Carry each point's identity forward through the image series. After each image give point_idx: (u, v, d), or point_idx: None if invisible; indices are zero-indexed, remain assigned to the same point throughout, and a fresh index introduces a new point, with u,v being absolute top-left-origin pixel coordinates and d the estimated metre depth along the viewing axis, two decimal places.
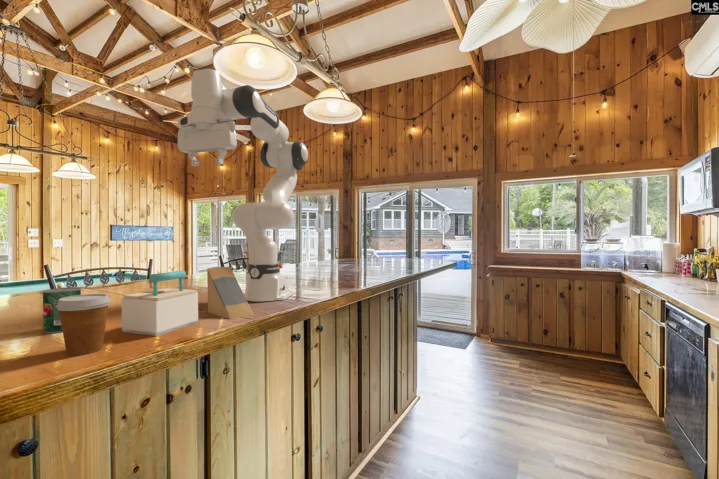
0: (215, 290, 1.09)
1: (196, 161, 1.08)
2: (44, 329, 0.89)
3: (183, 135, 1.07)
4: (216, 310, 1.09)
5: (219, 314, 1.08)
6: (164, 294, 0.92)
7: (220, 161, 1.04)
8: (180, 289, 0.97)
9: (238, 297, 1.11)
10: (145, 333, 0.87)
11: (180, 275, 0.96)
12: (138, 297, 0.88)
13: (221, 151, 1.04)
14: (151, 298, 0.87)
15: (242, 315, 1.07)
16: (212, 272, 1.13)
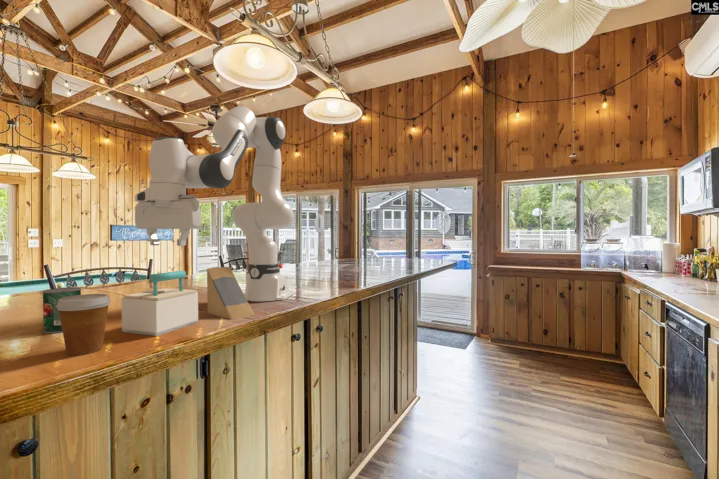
0: (215, 290, 1.09)
1: (156, 240, 0.94)
2: (44, 329, 0.89)
3: (141, 211, 0.94)
4: (216, 310, 1.08)
5: (219, 314, 1.07)
6: (164, 294, 0.92)
7: (182, 243, 0.91)
8: (180, 289, 0.97)
9: (238, 297, 1.11)
10: (145, 333, 0.87)
11: (180, 275, 0.96)
12: (138, 297, 0.88)
13: (183, 232, 0.90)
14: (151, 298, 0.87)
15: (243, 315, 1.06)
16: (212, 272, 1.12)
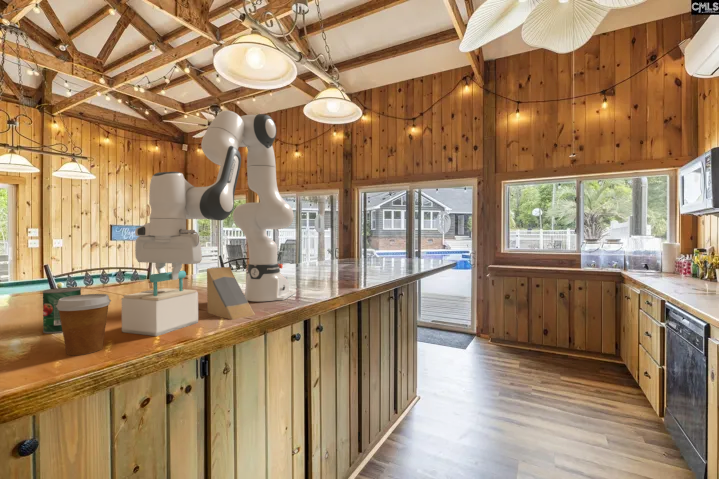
0: (215, 291, 1.08)
1: None
2: (44, 329, 0.89)
3: (141, 245, 0.94)
4: (217, 311, 1.08)
5: (220, 315, 1.07)
6: (164, 294, 0.92)
7: (174, 277, 0.92)
8: (180, 289, 0.97)
9: (239, 297, 1.10)
10: (145, 333, 0.87)
11: (180, 275, 0.96)
12: (138, 297, 0.88)
13: (175, 267, 0.92)
14: (151, 298, 0.87)
15: (244, 316, 1.06)
16: (212, 272, 1.11)
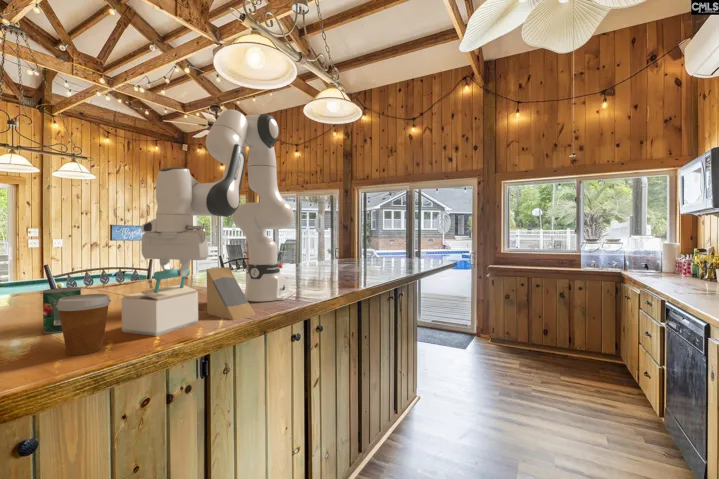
0: (216, 291, 1.08)
1: None
2: (44, 329, 0.89)
3: (147, 241, 0.93)
4: (217, 311, 1.07)
5: (220, 315, 1.06)
6: (164, 291, 0.91)
7: (182, 274, 0.91)
8: (181, 286, 0.97)
9: (239, 297, 1.10)
10: (145, 333, 0.87)
11: None
12: (138, 297, 0.88)
13: (183, 263, 0.91)
14: (151, 296, 0.87)
15: (244, 316, 1.06)
16: (211, 272, 1.11)
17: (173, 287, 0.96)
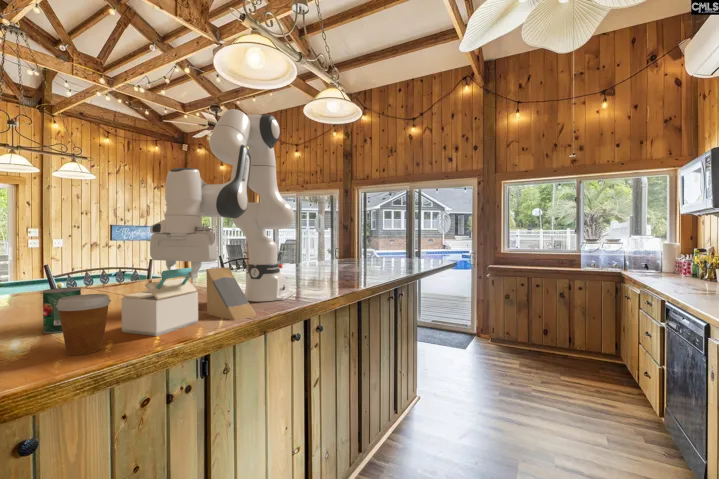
0: (216, 291, 1.07)
1: None
2: (44, 329, 0.89)
3: (156, 242, 0.92)
4: (217, 312, 1.07)
5: (221, 316, 1.06)
6: (166, 288, 0.91)
7: (193, 276, 0.90)
8: (183, 282, 0.97)
9: (239, 298, 1.10)
10: (145, 333, 0.87)
11: None
12: (138, 297, 0.88)
13: (194, 265, 0.89)
14: (153, 293, 0.87)
15: (245, 316, 1.05)
16: (211, 273, 1.10)
17: (176, 281, 0.96)
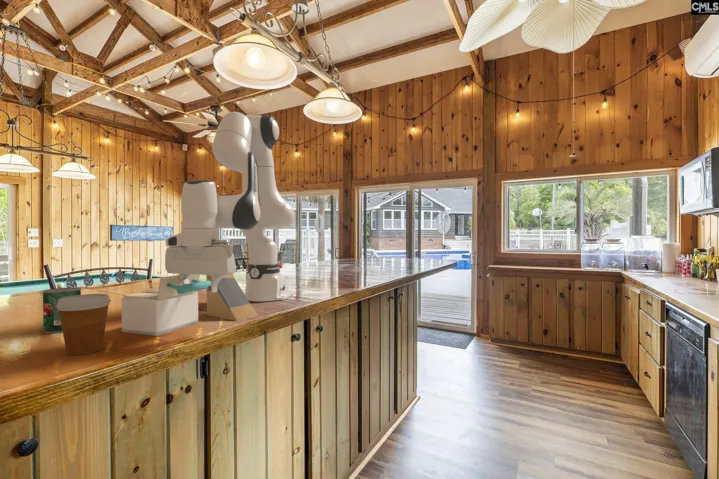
0: (217, 292, 1.06)
1: None
2: (44, 329, 0.89)
3: (172, 255, 0.91)
4: (218, 312, 1.06)
5: (222, 316, 1.05)
6: None
7: (213, 289, 0.88)
8: (193, 281, 0.96)
9: (240, 298, 1.09)
10: (145, 333, 0.87)
11: None
12: (138, 297, 0.88)
13: (214, 279, 0.88)
14: (159, 290, 0.86)
15: (247, 316, 1.05)
16: None
17: (188, 278, 0.94)
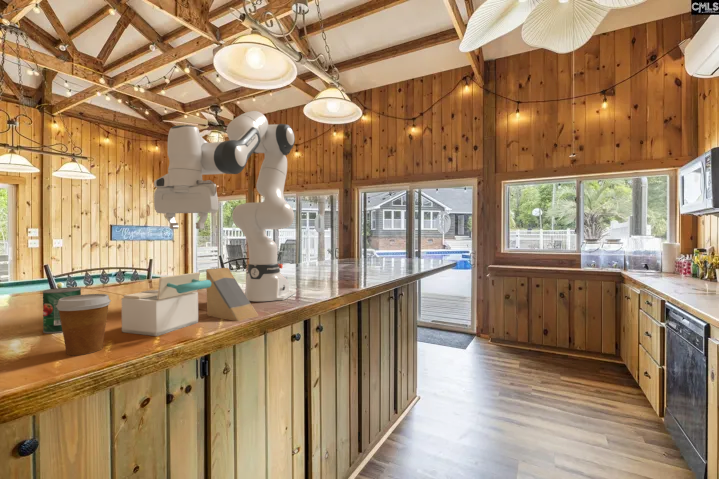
0: (217, 292, 1.06)
1: (175, 224, 1.00)
2: (44, 329, 0.89)
3: (160, 196, 0.99)
4: (219, 313, 1.05)
5: (223, 317, 1.04)
6: None
7: (201, 226, 0.97)
8: (193, 281, 0.96)
9: (241, 298, 1.08)
10: (145, 333, 0.87)
11: None
12: (138, 297, 0.88)
13: (201, 216, 0.96)
14: (159, 290, 0.86)
15: (248, 317, 1.05)
16: (211, 273, 1.08)
17: (188, 278, 0.94)
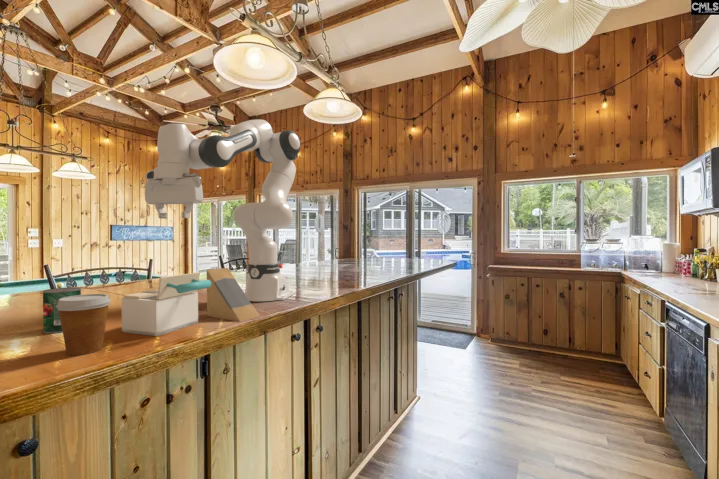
0: (218, 292, 1.05)
1: (163, 214, 1.08)
2: (44, 329, 0.89)
3: (150, 188, 1.07)
4: (220, 313, 1.05)
5: (224, 317, 1.04)
6: None
7: (186, 215, 1.05)
8: (193, 281, 0.96)
9: (242, 298, 1.08)
10: (145, 333, 0.87)
11: None
12: (138, 297, 0.88)
13: (187, 206, 1.04)
14: (159, 290, 0.86)
15: (250, 317, 1.04)
16: (212, 273, 1.08)
17: (188, 278, 0.94)
